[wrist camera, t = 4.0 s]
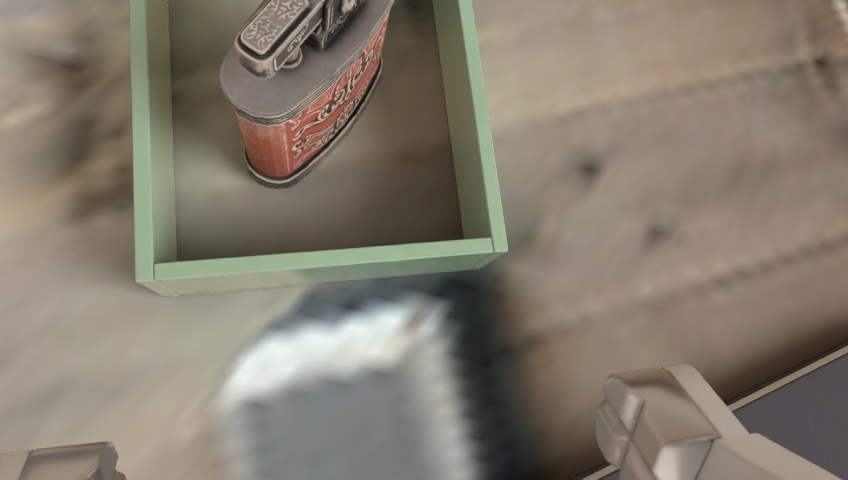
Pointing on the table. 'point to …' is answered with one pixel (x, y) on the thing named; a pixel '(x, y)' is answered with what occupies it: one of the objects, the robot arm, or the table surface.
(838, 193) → the table surface
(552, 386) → the table surface
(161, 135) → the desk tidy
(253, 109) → the lighter
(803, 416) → the notebook
